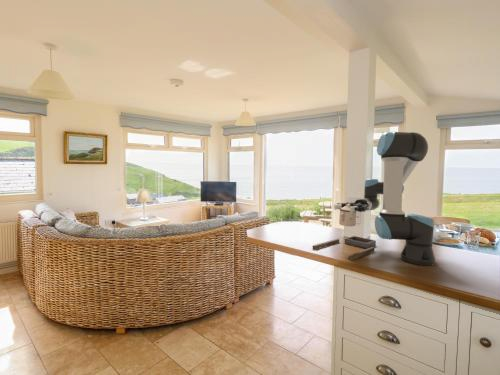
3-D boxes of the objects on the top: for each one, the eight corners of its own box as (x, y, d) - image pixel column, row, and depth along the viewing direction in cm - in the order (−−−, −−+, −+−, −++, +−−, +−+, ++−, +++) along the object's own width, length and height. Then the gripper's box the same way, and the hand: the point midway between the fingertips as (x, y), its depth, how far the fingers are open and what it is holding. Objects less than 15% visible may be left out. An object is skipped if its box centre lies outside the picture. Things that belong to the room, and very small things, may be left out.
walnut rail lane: (374, 251, 158) (374, 247, 158) (351, 260, 141) (351, 256, 141) (336, 241, 176) (336, 238, 175) (312, 249, 159) (312, 245, 159)
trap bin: (375, 245, 170) (375, 240, 169) (366, 248, 162) (367, 243, 162) (353, 240, 180) (354, 235, 180) (344, 243, 173) (344, 238, 172)
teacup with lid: (344, 222, 166) (345, 202, 165) (358, 225, 159) (360, 204, 158) (332, 224, 158) (333, 204, 157) (347, 228, 151) (348, 206, 150)
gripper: (380, 213, 162) (361, 218, 147) (345, 208, 178) (325, 212, 163) (381, 200, 161) (362, 203, 146) (346, 197, 177) (325, 199, 162)
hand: (342, 208), depth 155 cm, fingers closed on teacup with lid, 9 cm apart
